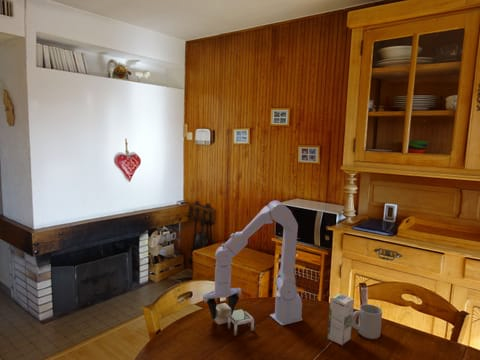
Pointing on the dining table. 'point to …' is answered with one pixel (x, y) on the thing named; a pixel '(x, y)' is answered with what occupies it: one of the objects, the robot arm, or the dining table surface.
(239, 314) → the end pad
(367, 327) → the cup
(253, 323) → the small white stool
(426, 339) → the dining table surface
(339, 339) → the syrup box
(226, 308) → the birch block
